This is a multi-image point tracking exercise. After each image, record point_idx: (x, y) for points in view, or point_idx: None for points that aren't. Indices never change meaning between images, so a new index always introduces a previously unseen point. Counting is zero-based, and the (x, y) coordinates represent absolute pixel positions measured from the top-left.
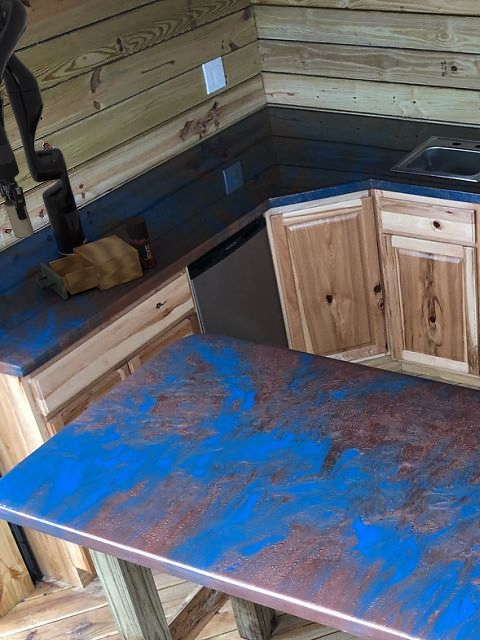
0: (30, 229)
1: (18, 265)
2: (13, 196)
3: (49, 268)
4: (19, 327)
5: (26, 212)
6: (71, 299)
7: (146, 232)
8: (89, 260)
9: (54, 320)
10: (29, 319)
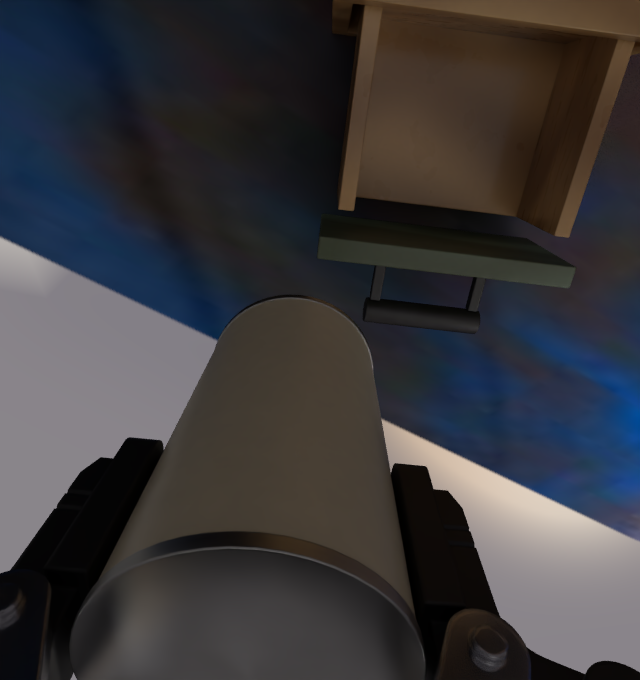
0: (370, 366)
1: (15, 196)
2: (48, 649)
3: (419, 253)
4: (515, 445)
5: (375, 461)
6: (514, 218)
7: None
8: (602, 30)
9: (591, 353)
10: (499, 401)
